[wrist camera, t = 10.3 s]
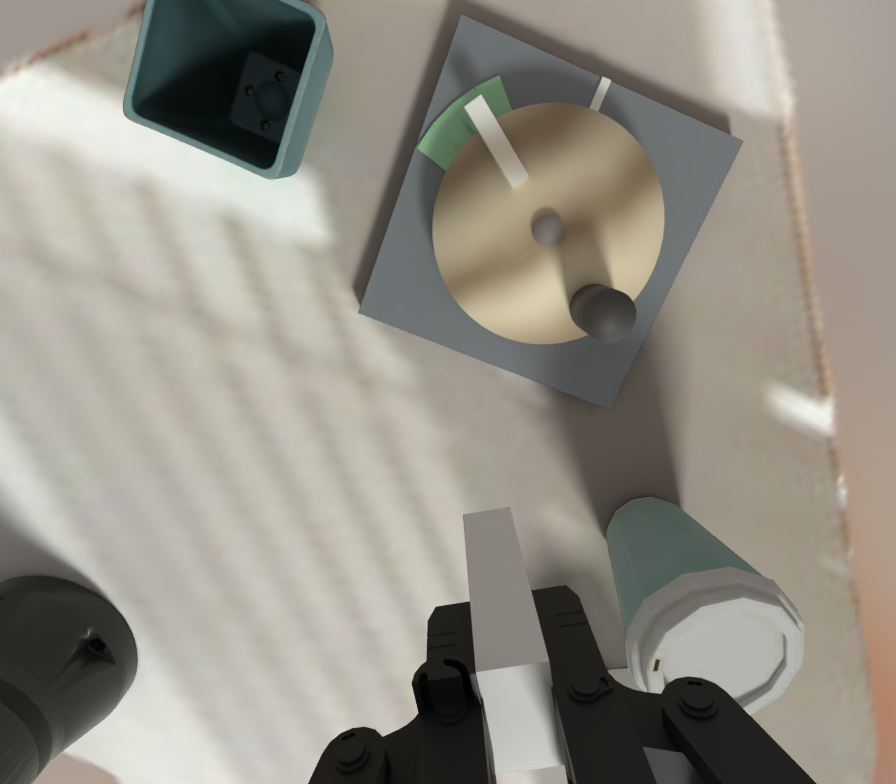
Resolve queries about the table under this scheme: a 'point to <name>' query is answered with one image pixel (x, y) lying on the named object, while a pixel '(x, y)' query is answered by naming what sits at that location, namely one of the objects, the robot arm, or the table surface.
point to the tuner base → (449, 128)
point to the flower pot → (232, 78)
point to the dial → (548, 223)
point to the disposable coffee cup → (699, 608)
